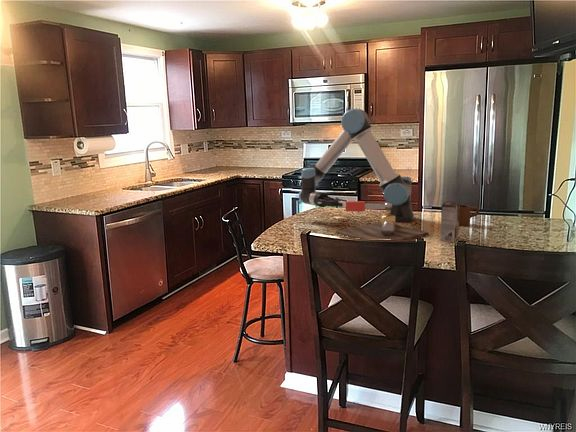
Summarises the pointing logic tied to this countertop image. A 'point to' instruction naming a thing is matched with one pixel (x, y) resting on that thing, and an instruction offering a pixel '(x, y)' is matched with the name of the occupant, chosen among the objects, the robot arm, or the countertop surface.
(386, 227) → the valve pipe
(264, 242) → the countertop surface
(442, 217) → the coffee box
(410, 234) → the valve board
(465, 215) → the mug
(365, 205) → the valve lever
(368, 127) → the robot arm
